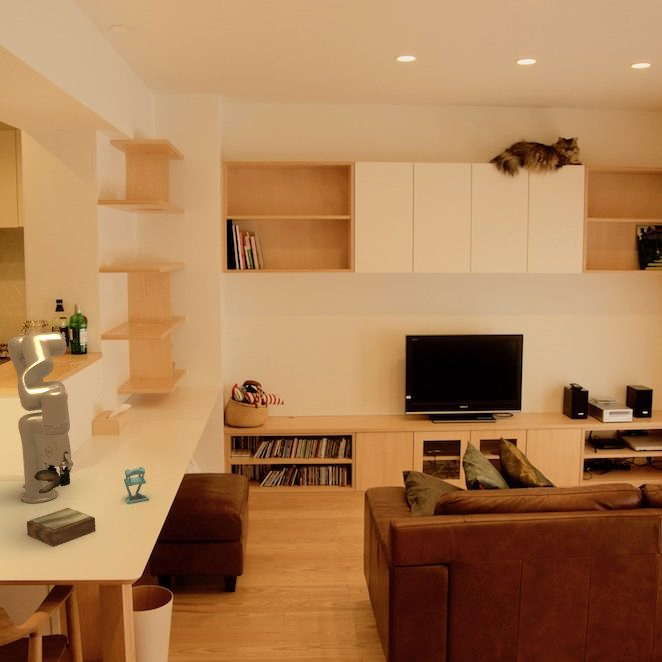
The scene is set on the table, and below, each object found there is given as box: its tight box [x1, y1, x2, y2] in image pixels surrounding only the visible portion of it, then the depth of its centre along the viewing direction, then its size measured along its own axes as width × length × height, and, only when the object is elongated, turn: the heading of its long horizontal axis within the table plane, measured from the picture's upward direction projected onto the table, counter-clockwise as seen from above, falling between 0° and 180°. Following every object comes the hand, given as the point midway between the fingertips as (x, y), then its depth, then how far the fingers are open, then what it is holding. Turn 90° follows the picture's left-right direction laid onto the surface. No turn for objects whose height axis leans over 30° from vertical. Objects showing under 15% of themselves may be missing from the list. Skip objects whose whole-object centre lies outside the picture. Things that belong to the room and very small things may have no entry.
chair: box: [123, 466, 150, 505], centre depth 268 cm, size 8×8×12 cm
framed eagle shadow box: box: [26, 507, 96, 547], centre depth 239 cm, size 15×15×5 cm
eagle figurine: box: [34, 469, 61, 493], centre depth 235 cm, size 8×7×9 cm
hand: (58, 482), depth 237 cm, fingers closed on eagle figurine, 6 cm apart
